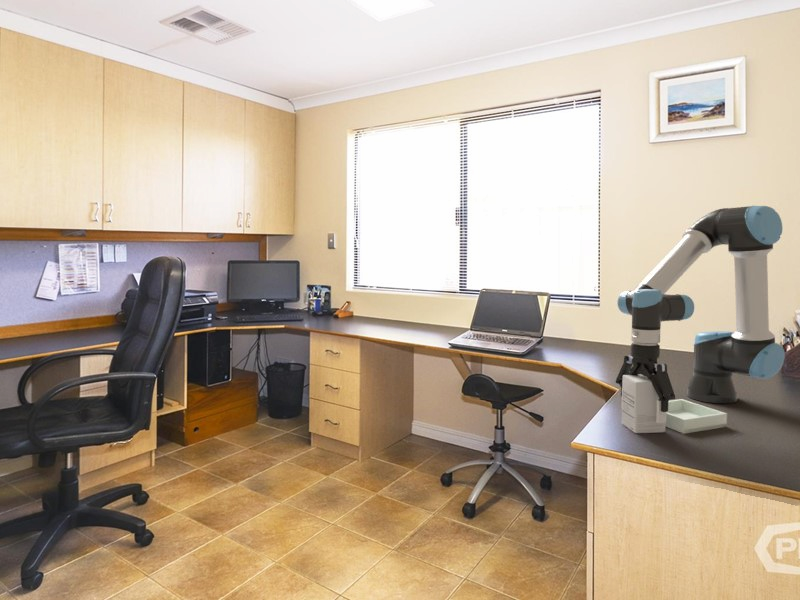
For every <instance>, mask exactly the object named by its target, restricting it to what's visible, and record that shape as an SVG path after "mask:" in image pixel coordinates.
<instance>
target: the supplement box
mask: <svg viewBox="0 0 800 600" xmlns="http://www.w3.org/2000/svg"><path fill="white" fill-rule="evenodd" d="M663 396H664V395H663ZM658 399H660V398H659V396H658V395H657V393H656V391H655V389H654V387H653V385H652V382H651V381H650V380H649V379H648V378H647V376H643V375H639V374H638V375H623V381H622V397H621V404H622V409H621V424H622V426H624V427H626V428H627V429H629V430H630V431H632V432H633V433H635V434H649V433H666V426H665V424H666V422H664V423H656V418H657V400H658Z"/></svg>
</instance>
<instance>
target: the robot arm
mask: <svg viewBox="0 0 800 600" xmlns="http://www.w3.org/2000/svg"><path fill="white" fill-rule="evenodd" d="M782 222H783V221H782V218H781V216H780V214H779V213H778V212H777V211H776V209H774V208H772V207H770V206H767V205H749V206H740V207H739V206H737V207H727V208H725V207H723V208H719V209H715V210H713V211H711V212H709V213H707V214H705V215H704V216H702V217H701V218H699V219H698V220H696V221H695V222H694V223H693V224H691V225H690V226H689V228H687V230H685V231H684V233H683V234H682V239H681V240H680V241H679V242H678V243H677V244H676V245H675V246H674V248H673V249H672V250H670V252H669V253H668V254H667V255H666V256H665V257H664V258H663V259H662V260H661V261H660V262H659V263H658V264H657V265H656V266H655V267H654V268H653V269H652V271H650V273H649V274H648V275H647V276H646V277H645V278H644V279H643V280H642V281H641V282H640V283H639V284H638V285H637V286H636V287H635V288H634V289H633V290H626V291H622V292H621V293H620V294H619V296H618V298H617V308H618V310H619V312H621V313H622V314H625V315H629V316H631V338H630V339H631V344H630V355H624V357H623V363H622V365H621V367H620V370H619V372H618V374H617V376H616V379H615V383H616V384H618V385H619V387H620V398H622V381H623V375H643V376H647V378H648V379H649V380H650V381H651V382H652V385H653V387H654V389H655V391H656V393H657V395H658V396H659V398H660V399H658V400H657V418H656V423H664V422H666V412H668V402H669V401H671V400H676V395H675V392H674V389H673V386H672V383H671V379H670V376H669V374H668V365H667V363H658V359H659V358H660V353H661V352H660V351H661V349H660V348H661V347H660V343H661V327H662V326H661V324H662V322H672V321H673V322H674V321H678V322H681V321H683V320H688V319H689V318H691V317H692V316H693V314H694V312H695V302H694V300H693V299H692V298H691V297H690V296H689V295H687V294H679V293H677V294H666V293H667V292H668V291H669V290H670V288H672V286H674V284H676V282H677V281H679V279H680V278H681V277H682V276H683V275H684V274H685V273H686V272H687V270H688V269H689V268H690V267H692V265H693V264H695V262H697V260H698V259H699V258H700V257H701V256H702V254H707V253H709V252H710V251H711V250H712V249H713V248H715V247H717V246H722V245H724V246H725V245H727V247H728V253H729V254H731V255H732V256H733V258H734V259H733V260H734V289H735V294H734V295H735V319H736V321H735V322H736V323H735V324H736V325H735V326H736V330H735V331H729V330H728V331H725V330H724V331H721V330H720V331H719V330H718V331H702V332H698V333H696V335H695V337H694V343H693V372H692V373H693V374H692V377H691V378H690V381H689V384H688V386H687V389H686V396H687V397H688V398H690V399H693V400H696V401H700V402H704V403H712V404H733V403H736V402H737V401H738V392H737V390H736V386H735V383H734V379H733V373H734V374H736V375H737V374H739V375H742V376H746V377H751V378H752V379H753V378H755V379H763V380H769V379H772V378H774V376H776V375H777V374H778V373H779V372H780V370H781V369H782V367H783V365H784V363H785V362H784V361H785V358H786V357H785V355H786V353H785V349H784V348H783V346H782V345H781V344H779V343H778V342H777V343H776V335H775V333H773V332H772V331H770V325H769V324H770V323H769V321H770V319H769V316H770V315H769V280H768V279H769V278H768V277H769V276H768V272H769V271H768V254H769V253H771V251H772V250H773V249H774V244H776V243H777V242H779V240H780V239H781V235H782V234H783V223H782ZM663 395H664V396H663ZM620 406H621V407H620V409H621V410H622V403H621V405H620Z"/></svg>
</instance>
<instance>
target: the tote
mask: <svg viewBox="0 0 800 600" xmlns="http://www.w3.org/2000/svg"><path fill="white" fill-rule="evenodd" d="M727 421H728V413H726V412H724V411H721V410H717V409H714V408H712V407H707V406H705V405H702V404H698V403H695V402H693V401H689V400H686V399H683V398H677V399H672V400H669V402H668V412H666V424H665V428H668V429H671V430H674V431H676V432H679V433H681V434H690V433H697V432H703V431H710V430H714V429H720V428H721V429H723V428H727Z"/></svg>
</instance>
